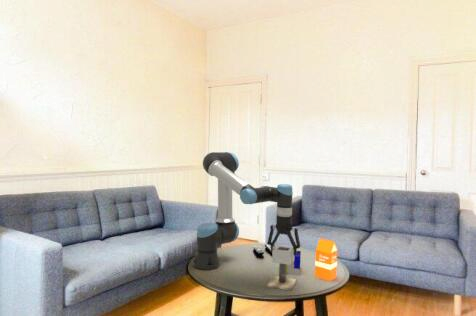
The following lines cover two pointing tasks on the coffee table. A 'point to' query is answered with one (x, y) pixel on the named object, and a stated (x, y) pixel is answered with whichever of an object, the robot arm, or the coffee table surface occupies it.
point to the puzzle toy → (294, 265)
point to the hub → (282, 255)
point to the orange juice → (326, 260)
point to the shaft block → (282, 280)
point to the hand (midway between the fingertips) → (283, 260)
